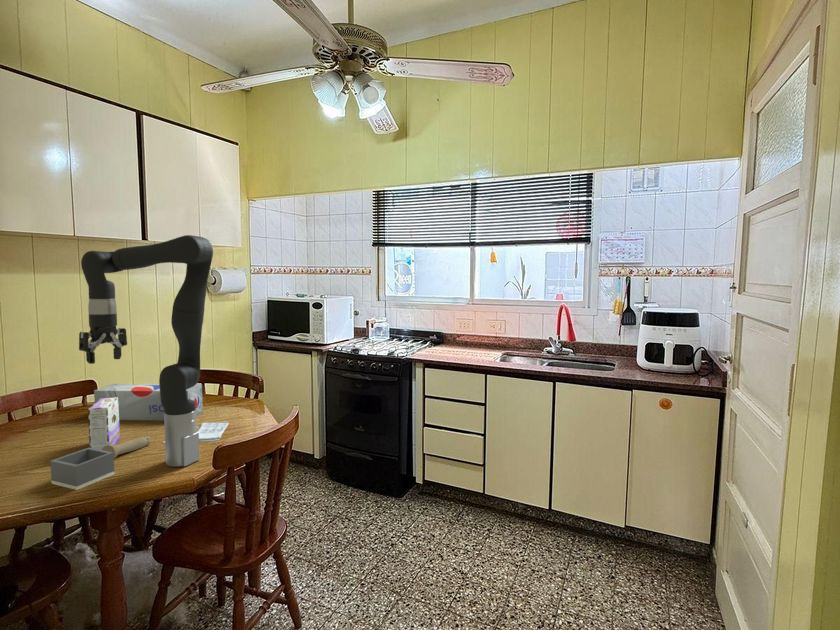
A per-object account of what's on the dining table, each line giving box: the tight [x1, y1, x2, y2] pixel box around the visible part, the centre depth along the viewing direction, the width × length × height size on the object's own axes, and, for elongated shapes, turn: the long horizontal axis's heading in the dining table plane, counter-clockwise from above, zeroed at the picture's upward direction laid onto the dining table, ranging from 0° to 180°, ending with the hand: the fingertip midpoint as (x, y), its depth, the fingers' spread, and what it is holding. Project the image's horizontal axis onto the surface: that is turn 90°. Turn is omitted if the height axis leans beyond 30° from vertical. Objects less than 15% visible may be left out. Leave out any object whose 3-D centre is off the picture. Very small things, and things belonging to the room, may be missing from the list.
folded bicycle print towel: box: [162, 422, 230, 445], centre depth 172 cm, size 19×20×2 cm
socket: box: [49, 447, 115, 491], centre depth 133 cm, size 11×11×7 cm
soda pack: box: [93, 383, 204, 421], centre depth 192 cm, size 41×13×14 cm, turn 90°
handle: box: [102, 436, 152, 459], centre depth 153 cm, size 5×6×15 cm
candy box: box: [87, 397, 121, 450], centre depth 157 cm, size 14×6×16 cm, turn 21°
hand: (104, 361), depth 145 cm, fingers open, 8 cm apart
